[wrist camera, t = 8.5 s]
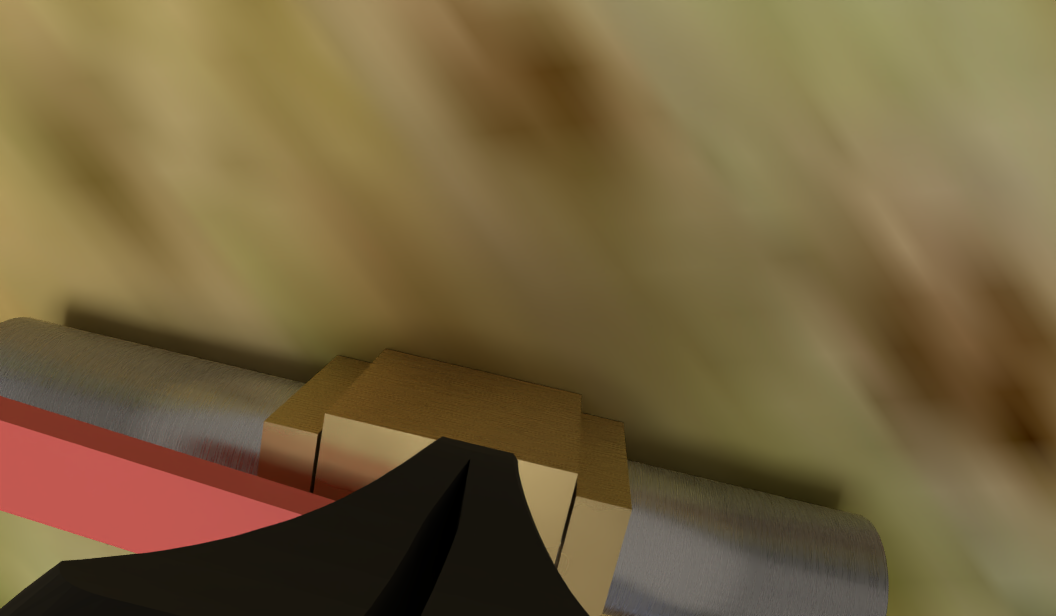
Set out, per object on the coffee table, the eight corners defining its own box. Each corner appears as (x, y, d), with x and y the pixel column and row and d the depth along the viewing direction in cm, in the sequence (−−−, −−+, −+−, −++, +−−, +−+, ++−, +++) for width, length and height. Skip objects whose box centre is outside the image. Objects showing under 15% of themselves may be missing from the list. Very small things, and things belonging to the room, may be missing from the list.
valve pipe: (857, 459, 22) (944, 570, 16) (793, 628, 23) (853, 778, 18) (63, 272, 23) (-104, 318, 17) (56, 448, 24) (-97, 540, 19)
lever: (510, 531, 17) (505, 556, 16) (472, 650, 18) (465, 680, 17) (-31, 362, 17) (-69, 376, 16) (-41, 488, 18) (-77, 509, 17)
